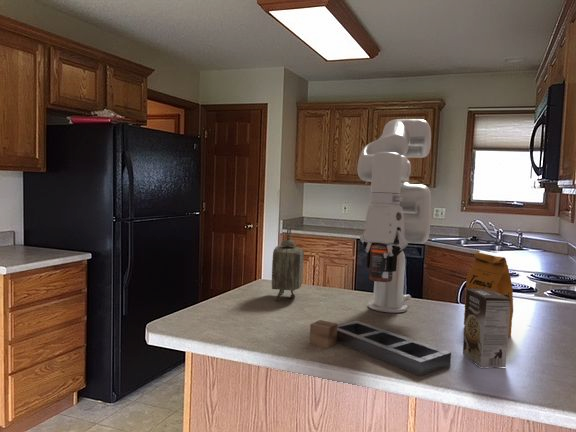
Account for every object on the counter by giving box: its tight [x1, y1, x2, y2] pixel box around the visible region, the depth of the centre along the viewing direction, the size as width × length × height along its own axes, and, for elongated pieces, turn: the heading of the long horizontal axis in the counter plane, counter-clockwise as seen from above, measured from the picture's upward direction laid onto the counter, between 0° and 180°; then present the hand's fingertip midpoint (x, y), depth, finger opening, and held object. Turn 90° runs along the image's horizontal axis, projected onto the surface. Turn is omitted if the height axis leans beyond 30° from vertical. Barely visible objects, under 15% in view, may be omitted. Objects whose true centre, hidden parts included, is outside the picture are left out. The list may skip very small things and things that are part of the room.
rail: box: [337, 320, 452, 377], centre depth 114 cm, size 29×11×3 cm, turn 38°
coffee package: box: [463, 251, 514, 338], centre depth 133 cm, size 10×12×22 cm
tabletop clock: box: [271, 225, 305, 302], centre depth 163 cm, size 14×9×25 cm, turn 172°
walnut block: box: [309, 319, 339, 349], centre depth 118 cm, size 5×5×5 cm
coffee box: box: [462, 288, 511, 368], centre depth 109 cm, size 9×6×16 cm
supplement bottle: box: [368, 243, 393, 282], centre depth 123 cm, size 6×6×11 cm
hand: (381, 268), depth 123 cm, fingers closed on supplement bottle, 6 cm apart
